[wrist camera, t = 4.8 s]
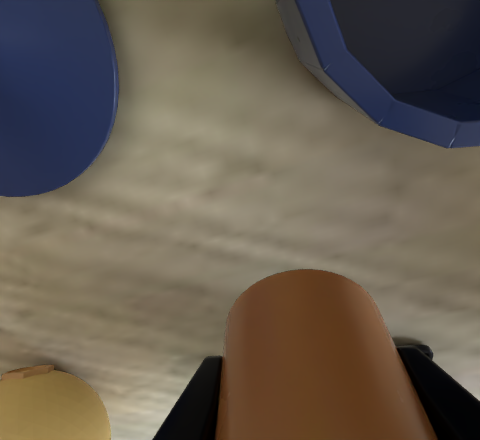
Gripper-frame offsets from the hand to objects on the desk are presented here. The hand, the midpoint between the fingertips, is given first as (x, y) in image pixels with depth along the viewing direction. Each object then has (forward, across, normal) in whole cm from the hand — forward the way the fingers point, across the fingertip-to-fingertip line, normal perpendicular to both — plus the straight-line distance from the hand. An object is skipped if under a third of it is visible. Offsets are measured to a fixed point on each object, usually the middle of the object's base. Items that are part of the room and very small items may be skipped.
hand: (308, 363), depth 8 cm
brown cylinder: (+1, 0, 0) cm, 1 cm away
